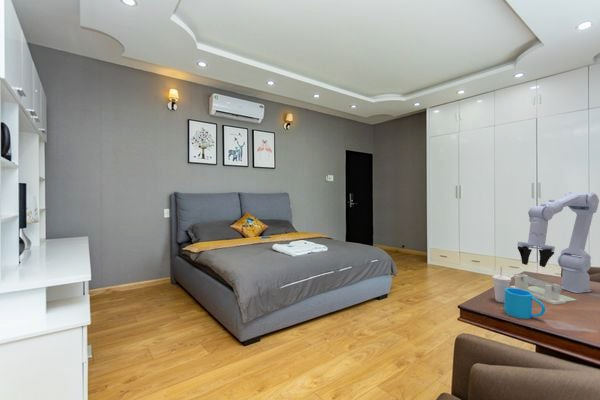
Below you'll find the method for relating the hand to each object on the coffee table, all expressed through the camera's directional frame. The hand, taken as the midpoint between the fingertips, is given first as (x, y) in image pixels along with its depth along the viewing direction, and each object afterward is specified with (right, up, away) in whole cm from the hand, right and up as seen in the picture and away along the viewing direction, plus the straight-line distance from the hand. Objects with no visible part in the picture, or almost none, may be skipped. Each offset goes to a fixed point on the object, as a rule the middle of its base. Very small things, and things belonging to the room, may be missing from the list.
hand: (533, 265), depth 125 cm
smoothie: (-17, -14, -5) cm, 23 cm away
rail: (+2, -9, +1) cm, 9 cm away
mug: (-18, -14, -19) cm, 30 cm away
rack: (+2, -13, +1) cm, 13 cm away
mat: (+9, -13, +2) cm, 16 cm away
